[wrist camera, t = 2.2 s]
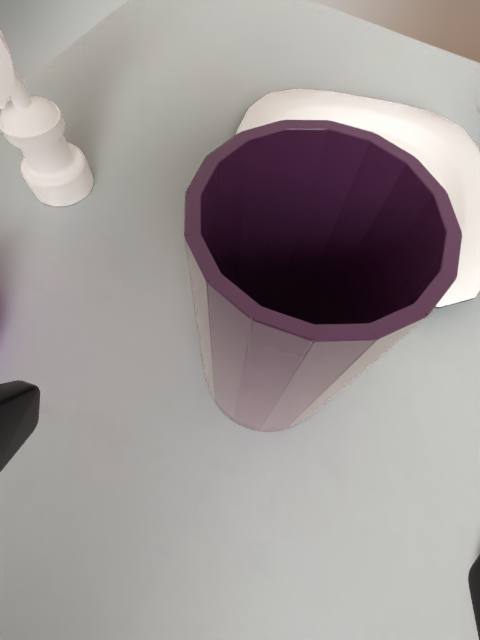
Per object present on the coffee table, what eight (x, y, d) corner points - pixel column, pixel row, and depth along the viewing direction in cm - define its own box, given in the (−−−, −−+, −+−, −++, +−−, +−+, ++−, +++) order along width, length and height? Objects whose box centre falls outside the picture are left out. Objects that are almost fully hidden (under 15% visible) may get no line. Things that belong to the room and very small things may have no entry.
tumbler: (273, 460, 19) (357, 408, 7) (180, 372, 21) (125, 213, 9) (349, 367, 21) (508, 211, 9) (260, 295, 23) (300, 87, 11)
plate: (486, 335, 22) (505, 323, 21) (196, 276, 23) (194, 260, 22) (469, 134, 30) (482, 115, 28) (251, 95, 31) (252, 74, 29)
